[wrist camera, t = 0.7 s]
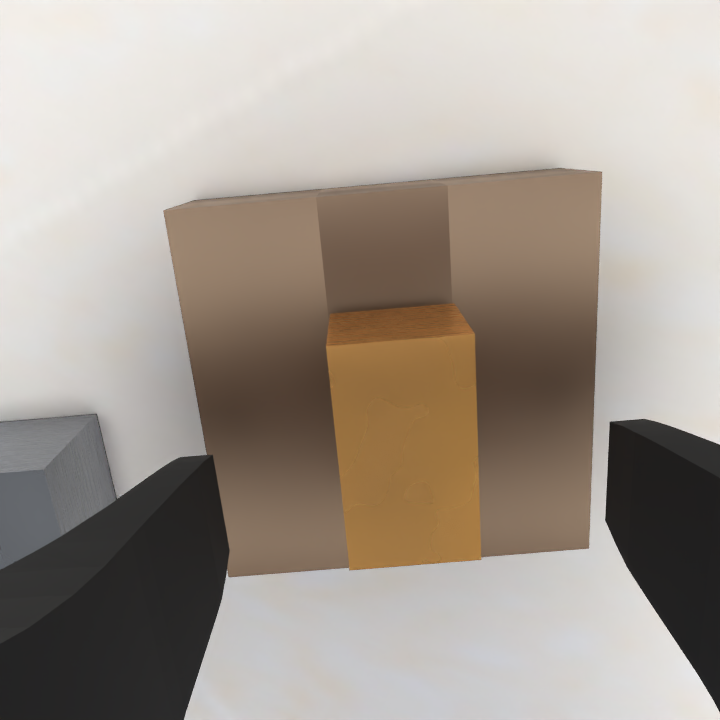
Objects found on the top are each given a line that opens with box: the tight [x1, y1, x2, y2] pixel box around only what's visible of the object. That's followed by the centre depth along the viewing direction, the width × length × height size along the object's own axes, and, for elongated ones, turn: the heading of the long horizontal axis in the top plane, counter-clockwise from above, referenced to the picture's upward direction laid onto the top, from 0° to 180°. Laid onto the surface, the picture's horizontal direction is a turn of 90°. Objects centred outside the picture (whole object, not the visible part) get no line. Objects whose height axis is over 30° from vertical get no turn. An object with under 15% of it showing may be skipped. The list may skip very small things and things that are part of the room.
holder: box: [163, 168, 602, 577], centre depth 17 cm, size 10×10×3 cm
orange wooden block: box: [326, 303, 481, 570], centre depth 16 cm, size 5×3×6 cm, turn 5°
